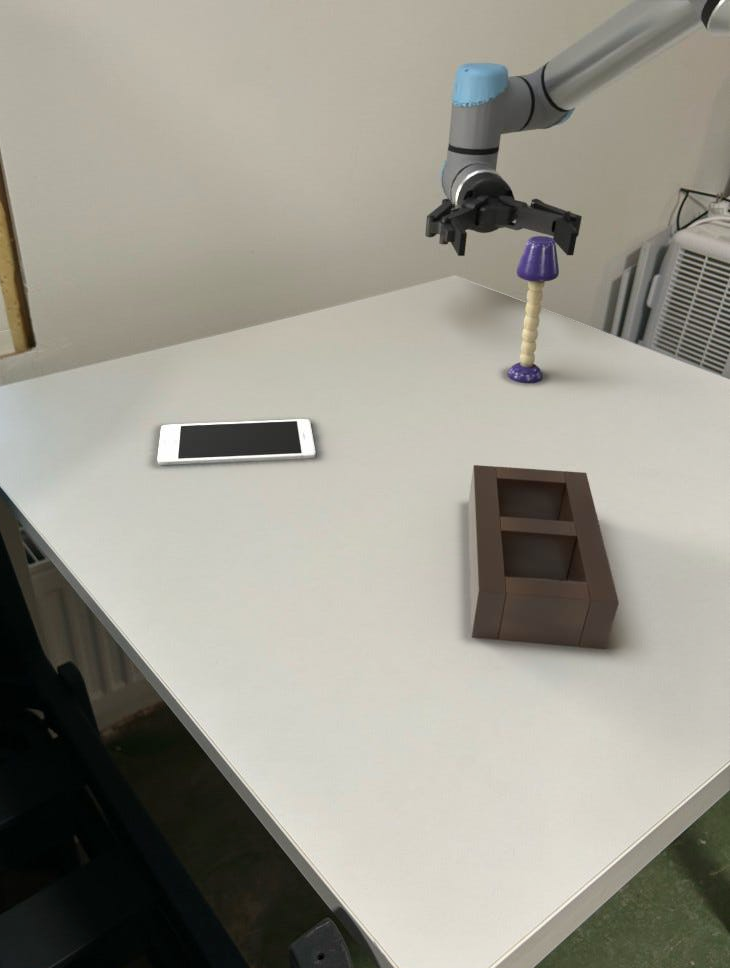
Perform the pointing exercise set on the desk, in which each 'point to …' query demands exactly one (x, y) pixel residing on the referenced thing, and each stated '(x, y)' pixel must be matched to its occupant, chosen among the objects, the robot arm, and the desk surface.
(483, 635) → the stand
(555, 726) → the desk surface
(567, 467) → the desk surface
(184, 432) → the cell phone
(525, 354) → the toy lamp
